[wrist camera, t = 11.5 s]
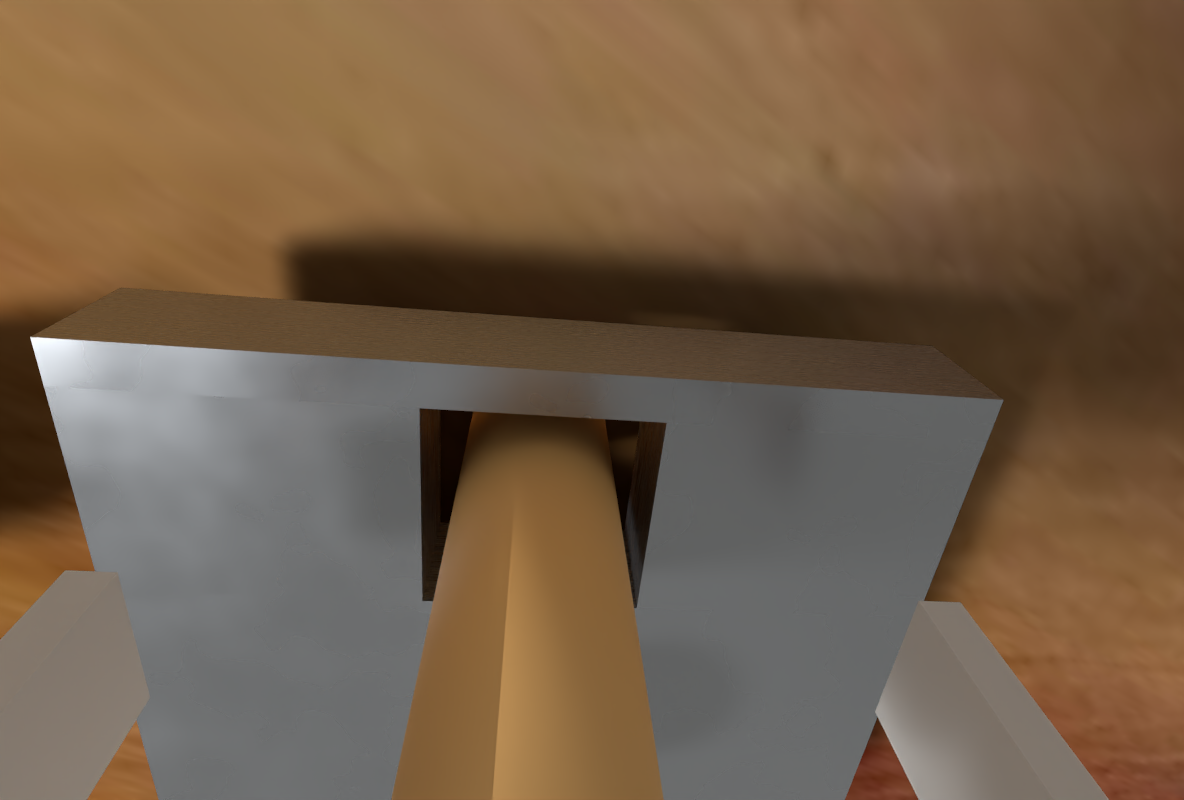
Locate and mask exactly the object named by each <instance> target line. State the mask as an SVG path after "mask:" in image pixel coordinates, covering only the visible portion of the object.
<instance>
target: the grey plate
mask: <svg viewBox="0 0 1184 800" xmlns="http://www.w3.org/2000/svg"><path fill="white" fill-rule="evenodd" d="M30 338H31V342H32V345H33V349H34V353H35V356H36V360H37V363H38V367H39V371H40V374H41V378H42V381H43V385H44V389H45V392H46V396H47V399H48V403H49V407H50V410H51V414H52V417H53V421H54V425H55V428H56V432H57V435H58V439H59V443H60V446H61V450H62V453H63V457H64V461H65V464H66V468H67V471H68V475H69V479H70V482H71V486H72V489H73V493H74V497H75V500H76V504H77V507H78V511H79V514H80V518H81V522H82V525H83V529H84V532H85V536H86V540H87V543H88V547H89V550H90V554H91V558H92V561H93V565H94V568H95V572H118V576H119V580H120V584H121V588H122V591H123V595H124V599H125V603H126V607H127V611H128V614H129V618H130V622H131V626H132V630H133V634H134V637H135V641H136V645H137V649H138V653H139V657H140V660H141V664H142V668H143V672H144V676H145V680H146V684H147V687H148V691H149V695H150V698H149V700H148V702H147V703H146V705H145V706H144V708H143V710H142V711H141V713H140V714H139V716H138V718H137V723H138V727H139V730H140V734H141V737H142V741H143V745H144V748H145V752H146V755H147V759H148V763H149V766H150V770H151V773H152V777H153V781H154V784H155V788H156V791H157V795H158V799H159V800H391V799H392V794H393V789H394V785H395V780H396V775H397V770H398V766H399V761H400V756H401V751H402V747H403V742H404V737H405V732H406V728H407V723H408V718H409V713H410V709H411V704H412V699H413V694H414V690H415V685H416V680H417V675H418V671H419V666H420V661H421V656H422V652H423V647H424V642H425V637H426V633H427V628H428V623H429V618H430V614H431V609H432V604H433V599H434V595H435V590H436V585H437V580H438V576H439V571H440V566H441V562H442V557H443V552H444V547H445V543H446V538H447V533H448V528H449V524H450V523H440V409H441V410H458V411H475V412H492V413H509V414H526V415H543V416H560V417H577V418H594V419H611V420H629V421H640V424H639V431H638V438H637V445H636V452H635V459H634V466H633V473H632V480H631V487H630V494H629V501H628V508H627V515H626V522H625V529H624V531H623V530H622V533H623V540H624V546H625V553H626V559H627V566H628V572H629V579H630V585H631V592H632V598H633V604H634V611H635V617H636V624H637V630H638V637H639V643H640V650H641V656H642V663H643V669H644V676H645V682H646V688H647V695H648V701H649V708H650V714H651V721H652V727H653V734H654V740H655V747H656V753H657V759H658V766H659V772H660V779H661V785H662V792H663V798H664V800H845V798H846V795H847V792H848V790H849V787H850V785H851V782H852V780H853V777H854V775H855V772H856V770H857V767H858V765H859V762H860V760H861V757H862V755H863V752H864V750H865V747H866V745H867V742H868V740H869V737H870V735H871V732H872V730H873V727H874V725H875V722H876V720H877V715H876V713H875V711H876V708H877V706H878V703H879V700H880V698H881V695H882V693H883V690H884V688H885V685H886V683H887V680H888V678H889V675H890V673H891V670H892V667H893V665H894V662H895V660H896V657H897V655H898V652H899V650H900V647H901V645H902V642H903V640H904V637H905V634H906V632H907V629H908V627H909V624H910V622H911V619H912V617H913V614H914V612H915V609H916V606H917V604H918V601H924V599H925V597H926V594H927V592H928V589H929V587H930V584H931V581H932V579H933V576H934V574H935V571H936V569H937V566H938V564H939V561H940V559H941V556H942V554H943V551H944V549H945V546H946V544H947V541H948V539H949V536H950V534H951V531H952V529H953V526H954V524H955V521H956V519H957V516H958V514H959V511H960V509H961V506H962V504H963V501H964V499H965V496H966V494H967V491H968V489H969V486H970V484H971V481H972V478H973V476H974V473H975V471H976V468H977V466H978V463H979V461H980V458H981V456H982V453H983V451H984V448H985V446H986V443H987V441H988V438H989V436H990V433H991V431H992V428H993V426H994V423H995V421H996V418H997V416H998V413H999V411H1000V408H1001V406H1002V403H1003V401H1004V400H1003V399H1002V398H1001V397H999V396H998V395H997V394H995V393H994V392H993V391H991V390H990V389H989V388H987V387H986V386H985V385H983V384H982V383H981V382H979V381H978V380H977V379H976V378H974V377H973V376H972V375H970V374H969V373H968V372H966V371H965V370H964V369H962V368H961V367H960V366H958V365H957V364H956V363H954V362H953V361H952V360H950V359H949V358H948V357H946V356H945V355H944V354H943V353H941V352H940V351H939V350H937V349H936V348H935V347H933V346H926V345H912V344H898V343H884V342H870V341H856V340H842V339H828V338H814V337H800V336H786V335H772V334H759V333H745V332H731V331H717V330H703V329H689V328H675V327H661V326H647V325H633V324H619V323H605V322H591V321H577V320H563V319H549V318H535V317H521V316H507V315H493V314H479V313H465V312H451V311H437V310H423V309H409V308H395V307H381V306H367V305H353V304H339V303H325V302H311V301H298V300H284V299H270V298H256V297H242V296H228V295H214V294H200V293H186V292H172V291H158V290H144V289H130V288H119V289H117V290H115V291H114V292H112V293H110V294H108V295H106V296H104V297H103V298H101V299H99V300H97V301H95V302H93V303H92V304H90V305H88V306H86V307H84V308H82V309H81V310H79V311H77V312H75V313H73V314H71V315H70V316H68V317H66V318H64V319H62V320H60V321H59V322H57V323H55V324H53V325H51V326H49V327H48V328H46V329H44V330H42V331H40V332H38V333H37V334H35V335H33V336H31V337H30Z"/></svg>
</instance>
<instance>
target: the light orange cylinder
mask: <svg viewBox="0 0 1184 800" xmlns="http://www.w3.org/2000/svg"><path fill="white" fill-rule="evenodd" d="M391 800H664V798H663V792H662V785H661V779H660V772H659V766H658V759H657V753H656V747H655V740H654V734H653V727H652V721H651V714H650V708H649V701H648V695H647V688H646V682H645V676H644V669H643V663H642V656H641V650H640V643H639V637H638V630H637V624H636V617H635V611H634V604H633V598H632V592H631V585H630V579H629V572H628V566H627V559H626V553H625V546H624V540H623V533H622V527H621V520H620V514H619V508H618V501H617V495H616V488H615V482H614V475H613V469H612V462H611V456H610V449H609V443H608V436H607V430H606V424H605V419H594V418H577V417H560V416H543V415H526V414H509V413H492V412H475V411H473V414H472V419H471V424H470V429H469V433H468V438H467V443H466V448H465V452H464V457H463V462H462V467H461V471H460V476H459V481H458V486H457V490H456V495H455V500H454V505H453V509H452V514H451V519H450V524H449V528H448V533H447V538H446V543H445V547H444V552H443V557H442V562H441V566H440V571H439V576H438V580H437V585H436V590H435V595H434V599H433V604H432V609H431V614H430V618H429V623H428V628H427V633H426V637H425V642H424V647H423V652H422V656H421V661H420V666H419V671H418V675H417V680H416V685H415V690H414V694H413V699H412V704H411V709H410V713H409V718H408V723H407V728H406V732H405V737H404V742H403V747H402V751H401V756H400V761H399V766H398V770H397V775H396V780H395V785H394V789H393V794H392V799H391Z"/></svg>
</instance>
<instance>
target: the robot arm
mask: <svg viewBox="0 0 1184 800" xmlns="http://www.w3.org/2000/svg"><path fill="white" fill-rule="evenodd" d="M149 698H150V695H149V691H148V687H147V684H146V680H145V676H144V672H143V668H142V664H141V660H140V657H139V653H138V649H137V645H136V641H135V637H134V634H133V630H132V626H131V622H130V618H129V614H128V611H127V607H126V603H125V599H124V595H123V591H122V588H121V584H120V580H119V576H118V572H93V571H64V572H63V573H62V574H61V576H60V577H59V578H58V579H57V580H56V581H55V582H54V583H53V584H52V585H51V586H50V587H49V588H48V589H47V590H46V592H45V593H44V594H43V595H42V596H41V597H40V598H39V599H38V600H37V601H36V602H35V603H34V604H33V605H32V606H31V608H30V609H29V610H28V611H27V612H26V613H25V614H24V615H23V616H22V617H21V618H20V619H19V620H18V621H17V622H16V624H15V625H14V626H13V627H12V628H11V629H10V630H9V631H8V632H7V633H6V634H5V635H4V636H3V637H2V639H1V640H0V800H87V798H88V797H89V795H90V794H91V792H92V790H93V789H94V787H95V785H96V784H97V782H98V781H99V779H100V777H101V776H102V774H103V773H104V771H105V769H106V768H107V766H108V764H109V763H110V761H111V760H112V758H113V756H114V755H115V753H116V752H117V750H118V748H119V747H120V745H121V744H122V742H123V740H124V739H125V737H126V735H127V734H128V732H129V731H130V729H131V727H132V726H133V724H134V723H135V721H136V719H137V718H138V716H139V714H140V713H141V711H142V710H143V708H144V706H145V705H146V703H147V702H148V700H149ZM875 713H876V715H877V717H878V719H879V721H880V723H881V725H882V727H883V729H884V731H885V733H886V735H887V737H888V739H889V741H890V743H891V745H892V747H893V749H894V751H895V753H896V755H897V757H898V759H899V761H900V763H901V765H902V767H903V769H904V771H905V773H906V775H907V777H908V779H909V781H910V783H911V785H912V787H913V789H914V791H915V793H916V795H917V797H918V799H919V800H1109V799H1108V798H1107V796H1106V795H1105V794H1104V792H1103V791H1102V790H1101V788H1100V787H1099V786H1098V784H1097V783H1096V782H1095V780H1094V779H1093V778H1092V776H1091V775H1090V774H1089V772H1088V771H1087V770H1086V768H1085V767H1084V766H1083V765H1082V763H1081V762H1080V761H1079V759H1078V758H1077V757H1076V755H1075V754H1074V753H1073V751H1072V750H1071V749H1070V747H1069V746H1068V745H1067V743H1066V742H1065V741H1064V739H1063V738H1062V737H1061V735H1060V734H1059V733H1058V731H1057V730H1056V729H1055V727H1054V726H1053V725H1052V723H1051V722H1050V721H1049V719H1048V718H1047V717H1046V715H1045V714H1044V713H1043V711H1042V710H1041V709H1040V707H1039V706H1038V705H1037V703H1036V702H1035V701H1034V699H1033V698H1032V697H1031V695H1030V694H1029V693H1028V691H1027V690H1026V689H1025V687H1024V686H1023V685H1022V683H1021V682H1020V681H1019V679H1018V678H1017V677H1016V675H1015V674H1014V673H1013V671H1012V670H1011V669H1010V667H1009V666H1008V665H1007V664H1006V662H1005V661H1004V660H1003V658H1002V657H1001V656H1000V654H999V653H998V652H997V650H996V649H995V648H994V646H993V645H992V644H991V642H990V641H989V640H988V638H987V637H986V636H985V634H984V633H983V632H982V630H981V629H980V628H979V626H978V625H977V624H976V622H975V621H974V620H973V618H972V617H971V616H970V614H969V613H968V612H967V610H966V609H965V608H964V606H963V605H962V604H961V602H936V601H918V604H917V606H916V609H915V612H914V614H913V617H912V619H911V622H910V624H909V627H908V629H907V632H906V634H905V637H904V640H903V642H902V645H901V647H900V650H899V652H898V655H897V657H896V660H895V662H894V665H893V667H892V670H891V673H890V675H889V678H888V680H887V683H886V685H885V688H884V690H883V693H882V695H881V698H880V700H879V703H878V706H877V708H876V711H875Z"/></svg>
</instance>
